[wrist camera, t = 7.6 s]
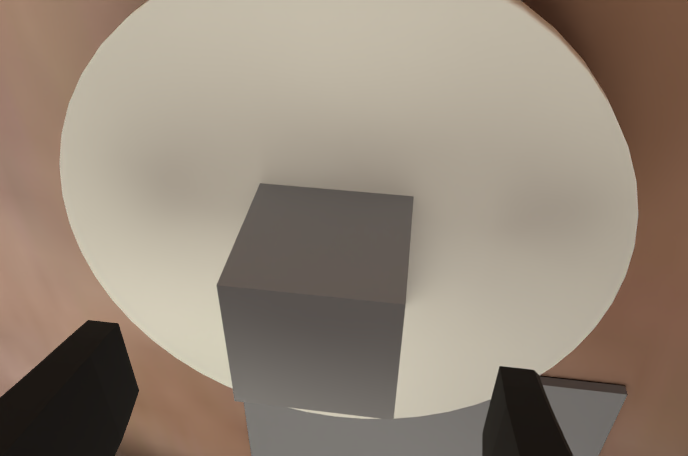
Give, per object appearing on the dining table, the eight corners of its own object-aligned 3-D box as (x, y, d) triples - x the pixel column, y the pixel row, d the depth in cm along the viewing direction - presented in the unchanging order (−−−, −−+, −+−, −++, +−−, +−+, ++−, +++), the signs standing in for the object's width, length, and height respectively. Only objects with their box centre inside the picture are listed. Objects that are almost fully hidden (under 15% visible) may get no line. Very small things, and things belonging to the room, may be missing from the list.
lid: (730, -42, 11) (853, 50, 8) (555, 421, 20) (577, 560, 16) (-3, -76, 12) (-170, -10, 9) (134, 372, 21) (75, 490, 18)
